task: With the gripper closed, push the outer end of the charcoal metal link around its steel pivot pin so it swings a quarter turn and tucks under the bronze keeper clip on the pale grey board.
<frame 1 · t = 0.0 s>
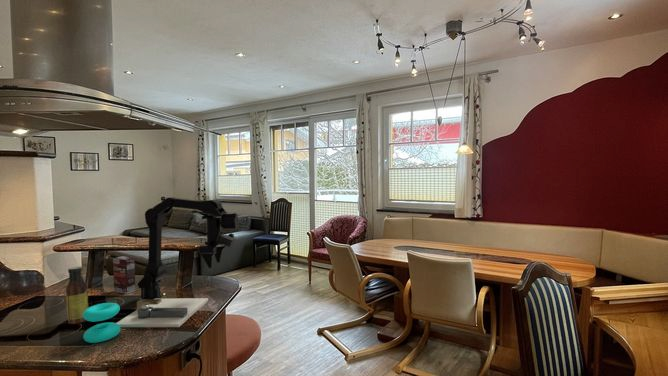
hand: (214, 265, 141), 15 cm above the kitchen island, tool pointing down, fingers open, 9 cm apart
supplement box: (124, 292, 153), on the kitchen island
sauce bottle: (78, 321, 120), on the kitchen island
keeper: (145, 318, 122), resting on base board
base board: (165, 312, 127), on the kitchen island
donuts: (102, 337, 108), on the kitchen island
pivot link: (162, 310, 122), point 3 cm above the kitchen island, hinge at 0.0°
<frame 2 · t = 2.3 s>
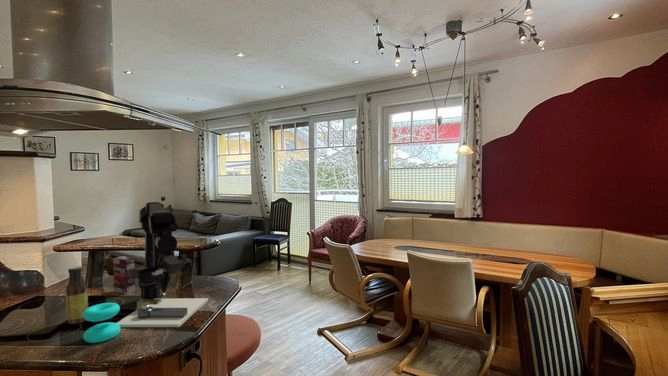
hand: (163, 291, 115), 12 cm above the kitchen island, tool pointing down, fingers closed
nothing on the kitchen island moved.
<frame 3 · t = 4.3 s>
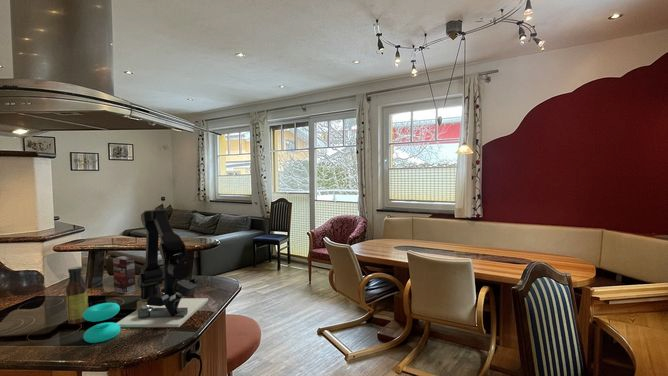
hand: (173, 316, 119), 2 cm above the kitchen island, tool pointing down, fingers closed
pivot link: (162, 310, 122), point 3 cm above the kitchen island, hinge at 0.6°, touching gripper
everything else where it was.
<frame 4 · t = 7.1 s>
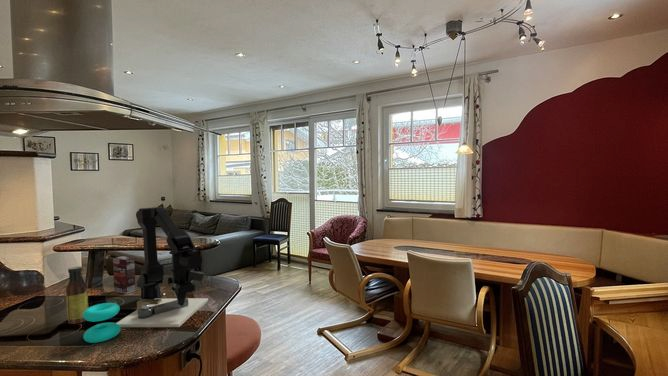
hand: (181, 305, 129), 2 cm above the kitchen island, tool pointing down, fingers closed
pivot link: (163, 305, 126), point 3 cm above the kitchen island, hinge at 46.3°, touching gripper
everything else where it was.
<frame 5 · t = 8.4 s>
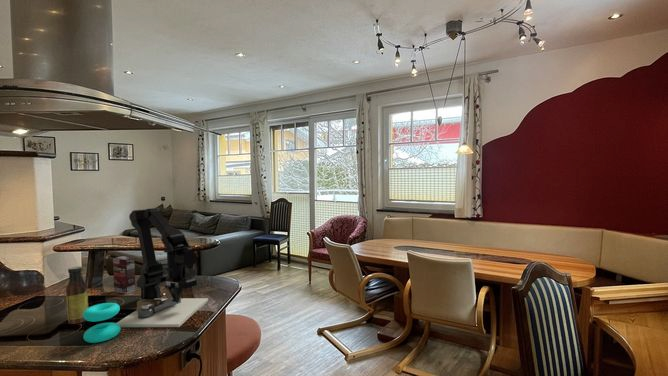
hand: (177, 302, 132), 2 cm above the kitchen island, tool pointing down, fingers closed
pivot link: (160, 304, 128), point 3 cm above the kitchen island, hinge at 69.7°, touching gripper
everything else where it was.
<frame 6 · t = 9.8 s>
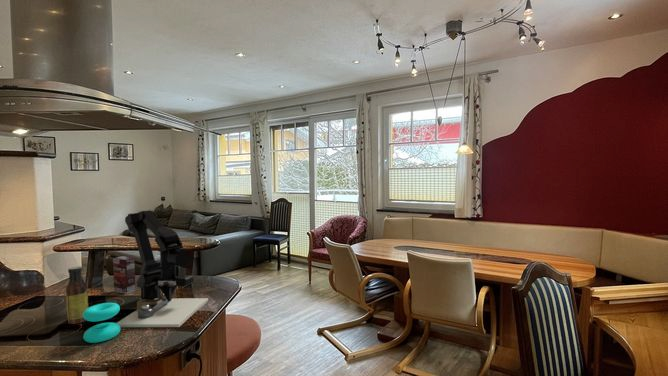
hand: (169, 300, 134), 2 cm above the kitchen island, tool pointing down, fingers closed
pivot link: (155, 304, 128), point 3 cm above the kitchen island, hinge at 89.6°, touching gripper
everything else where it was.
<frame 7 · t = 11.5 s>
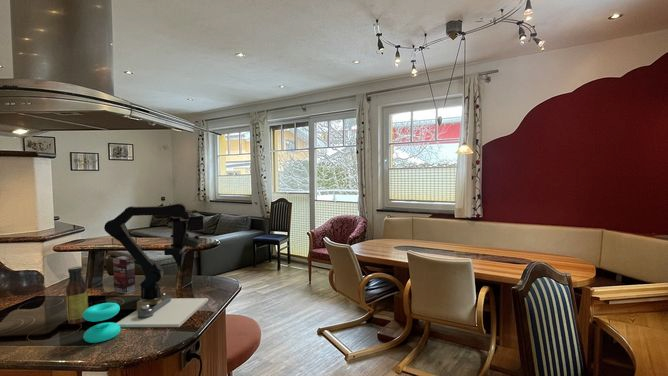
hand: (180, 266, 146), 13 cm above the kitchen island, tool pointing down, fingers closed
pivot link: (155, 304, 128), point 3 cm above the kitchen island, hinge at 89.6°
everything else where it was.
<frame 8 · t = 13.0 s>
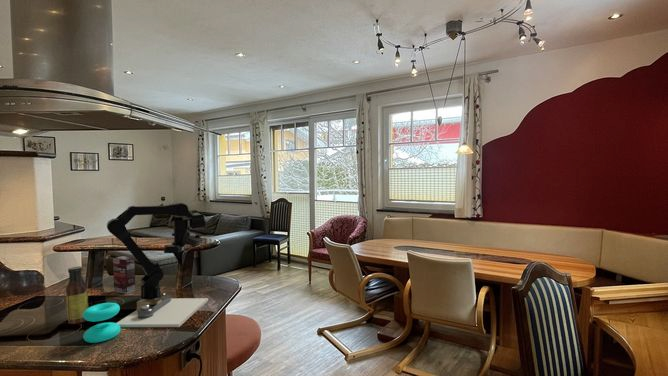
hand: (181, 264, 150), 13 cm above the kitchen island, tool pointing down, fingers closed
nothing on the kitchen island moved.
at the end: pivot link at +90° (first picture: +0°); donuts moved 0.3 cm from its start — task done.
